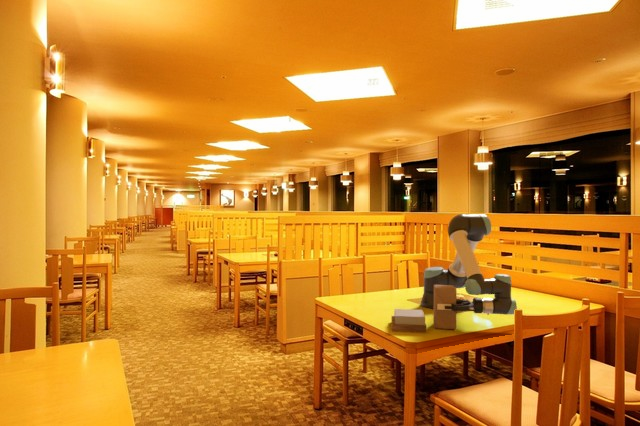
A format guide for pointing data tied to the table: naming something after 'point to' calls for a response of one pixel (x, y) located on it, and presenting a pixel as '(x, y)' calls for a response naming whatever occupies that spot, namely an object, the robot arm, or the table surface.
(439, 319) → the wooden block
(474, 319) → the table surface
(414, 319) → the grey slab
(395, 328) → the walnut slab
